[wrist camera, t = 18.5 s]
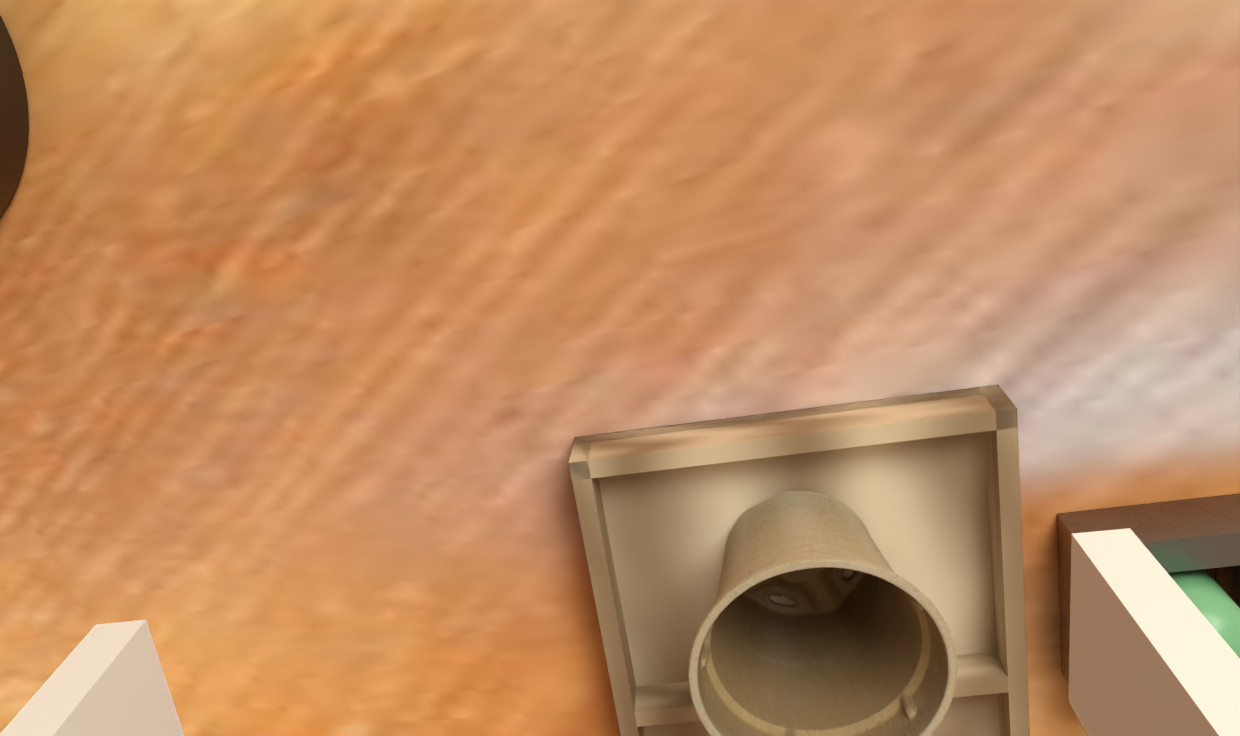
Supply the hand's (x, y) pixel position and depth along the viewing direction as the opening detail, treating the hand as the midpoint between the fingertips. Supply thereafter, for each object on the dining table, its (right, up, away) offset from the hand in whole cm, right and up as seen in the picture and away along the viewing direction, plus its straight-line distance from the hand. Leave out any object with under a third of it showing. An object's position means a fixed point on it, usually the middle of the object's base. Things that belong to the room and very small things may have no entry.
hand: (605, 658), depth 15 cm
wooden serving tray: (+9, -9, +33) cm, 35 cm away
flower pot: (+8, -4, +31) cm, 32 cm away
